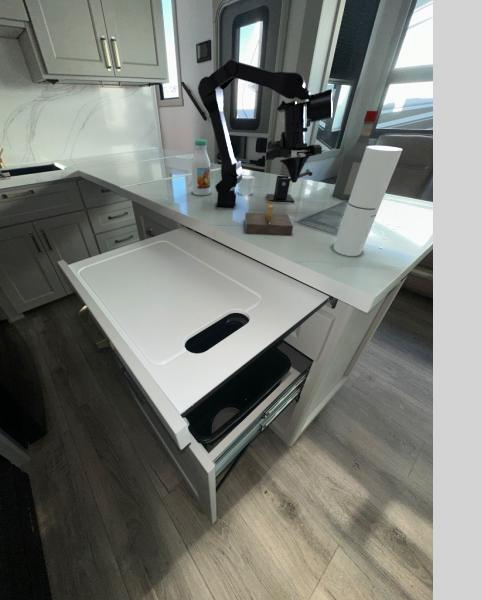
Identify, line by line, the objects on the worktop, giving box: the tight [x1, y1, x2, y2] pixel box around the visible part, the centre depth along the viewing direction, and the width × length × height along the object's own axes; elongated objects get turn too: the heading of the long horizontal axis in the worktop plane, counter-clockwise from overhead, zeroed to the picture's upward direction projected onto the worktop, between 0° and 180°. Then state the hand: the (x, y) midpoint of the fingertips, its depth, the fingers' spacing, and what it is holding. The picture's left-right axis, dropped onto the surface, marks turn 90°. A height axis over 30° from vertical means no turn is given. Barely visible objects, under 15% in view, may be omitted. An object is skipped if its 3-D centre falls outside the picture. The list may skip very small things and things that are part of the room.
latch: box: [284, 168, 313, 182], centre depth 103 cm, size 12×5×2 cm, turn 86°
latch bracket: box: [266, 175, 295, 204], centre depth 106 cm, size 10×8×9 cm
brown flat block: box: [244, 212, 294, 236], centre depth 85 cm, size 14×10×3 cm
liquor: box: [332, 110, 379, 202], centre depth 103 cm, size 9×9×30 cm
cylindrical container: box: [333, 145, 403, 257], centre depth 66 cm, size 7×7×25 cm
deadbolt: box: [265, 200, 274, 222], centre depth 83 cm, size 5×1×5 cm, turn 174°
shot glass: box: [237, 174, 256, 196], centre depth 113 cm, size 7×7×7 cm
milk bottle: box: [191, 139, 211, 196], centre depth 109 cm, size 8×8×20 cm
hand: (294, 182), depth 85 cm, fingers closed
